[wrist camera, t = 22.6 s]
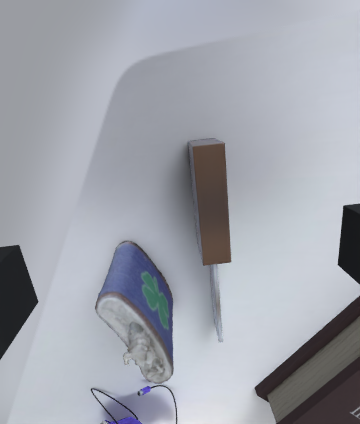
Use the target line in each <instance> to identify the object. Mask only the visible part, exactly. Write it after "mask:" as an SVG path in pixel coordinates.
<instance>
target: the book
mask: <svg viewBox="0 0 360 424" xmlns="http://www.w3.org/2000/svg"><path fill="white" fill-rule="evenodd" d="M255 390H256V393H257V396H259V397H261V398H262V399H264V400H266V401H267V402H269V403H270V406H271V408H272V411H273V414H274V417H275V420H276V422H277V424H360V296H359V297H358V298H357V299H356V300H355V301H354V302H352V303H351V304H350V305H349V306H348V307H347V308H346V309H344V310H343V311H342V312H341V313H340V314H339V315H338V316H336V317H335V318H334V319H333V320H332V321H331V322H330V323H328V324H327V325H326V326H325V327H324V328H323V329H322V330H320V331H319V332H318V333H317V334H316V335H315V336H314V337H312V338H311V339H310V340H309V341H308V342H307V343H306V344H304V345H303V346H302V347H301V348H300V349H299V350H298V351H296V352H295V353H294V354H293V355H292V356H291V357H290V358H288V359H287V360H286V361H285V362H284V363H283V364H282V365H280V366H279V367H278V368H277V369H276V370H275V371H273V372H272V373H271V374H270V375H269V376H268V377H267V378H265V379H264V380H263V381H262V382H261V383H260V384H259V385H257V386H256V387H255Z"/></svg>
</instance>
